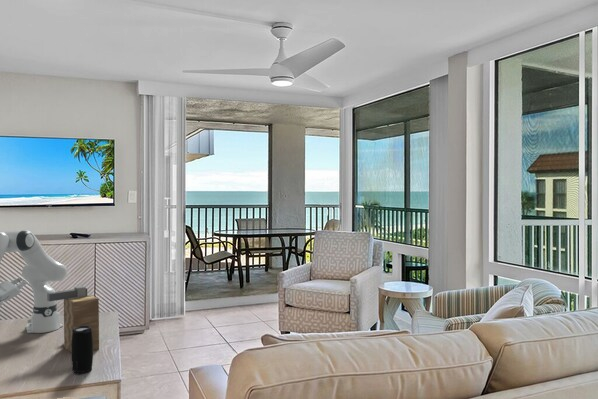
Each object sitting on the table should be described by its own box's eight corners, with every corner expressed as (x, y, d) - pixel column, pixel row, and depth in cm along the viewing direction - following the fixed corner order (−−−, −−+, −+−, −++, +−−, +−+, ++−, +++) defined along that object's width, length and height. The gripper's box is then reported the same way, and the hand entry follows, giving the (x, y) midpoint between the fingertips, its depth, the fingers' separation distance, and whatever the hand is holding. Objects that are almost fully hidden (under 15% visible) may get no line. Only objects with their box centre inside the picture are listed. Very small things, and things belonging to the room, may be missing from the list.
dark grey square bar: (46, 300, 231) (46, 290, 230) (84, 294, 243) (84, 285, 243) (49, 301, 227) (49, 292, 227) (87, 295, 240) (87, 286, 240)
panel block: (64, 347, 238) (63, 297, 237) (88, 342, 246) (87, 293, 245) (74, 355, 227) (73, 302, 226) (99, 349, 235) (98, 298, 234)
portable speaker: (83, 366, 213) (83, 323, 213) (97, 369, 209) (97, 326, 208) (66, 372, 205) (66, 328, 205) (80, 376, 201) (80, 331, 201)
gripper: (-6, 297, 203) (25, 277, 211) (-15, 289, 218) (14, 271, 226) (3, 308, 205) (33, 288, 213) (-7, 300, 220) (22, 282, 228)
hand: (23, 280), depth 219 cm, fingers open, 8 cm apart
